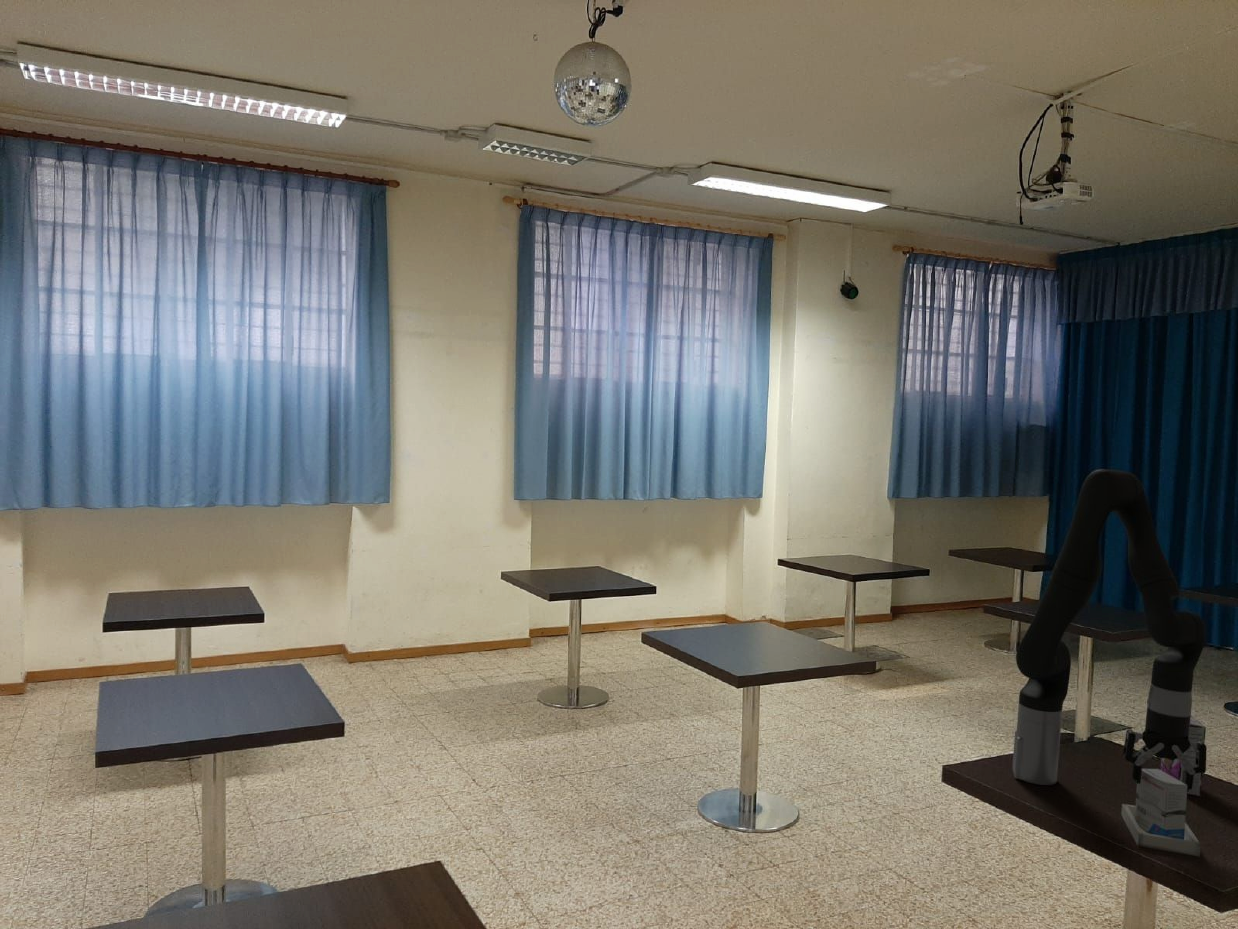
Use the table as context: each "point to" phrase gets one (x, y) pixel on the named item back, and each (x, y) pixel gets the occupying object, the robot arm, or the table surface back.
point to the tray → (1160, 842)
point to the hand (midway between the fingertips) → (1160, 786)
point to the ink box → (1161, 804)
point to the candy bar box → (1176, 767)
